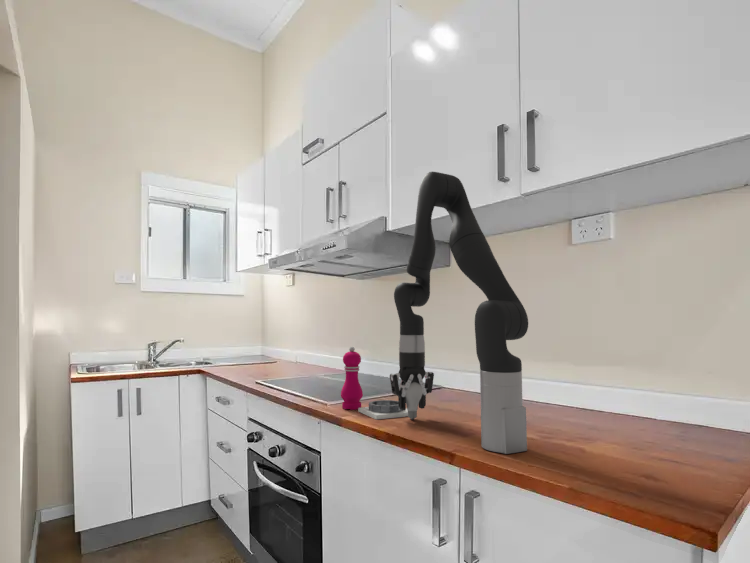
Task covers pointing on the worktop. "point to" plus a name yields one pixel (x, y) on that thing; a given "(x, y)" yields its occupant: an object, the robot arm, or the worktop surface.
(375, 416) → the socket board
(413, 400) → the lightbulb
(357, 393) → the pepper mill
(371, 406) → the socket collar
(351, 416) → the worktop surface
